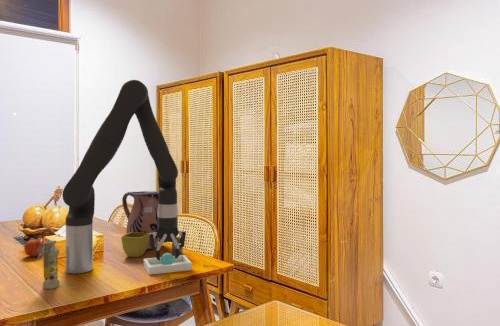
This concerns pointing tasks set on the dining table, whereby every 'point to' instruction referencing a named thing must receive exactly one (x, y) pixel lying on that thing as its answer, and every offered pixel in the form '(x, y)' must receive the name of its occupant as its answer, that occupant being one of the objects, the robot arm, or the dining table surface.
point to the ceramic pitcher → (142, 213)
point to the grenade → (50, 264)
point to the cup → (174, 247)
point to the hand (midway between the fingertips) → (167, 258)
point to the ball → (167, 259)
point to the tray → (178, 265)
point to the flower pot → (135, 243)
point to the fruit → (33, 247)
